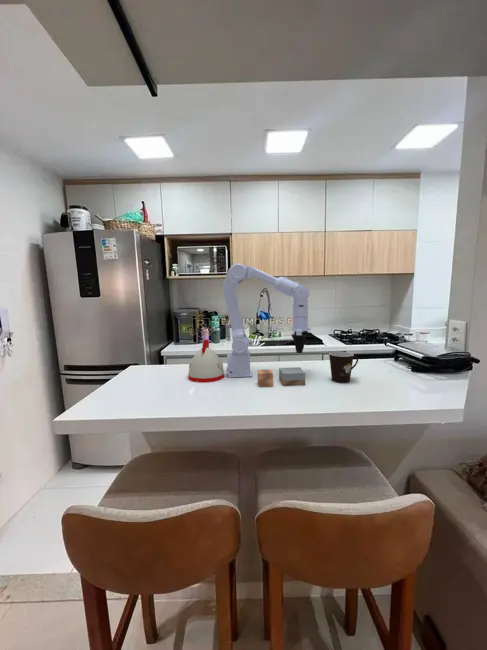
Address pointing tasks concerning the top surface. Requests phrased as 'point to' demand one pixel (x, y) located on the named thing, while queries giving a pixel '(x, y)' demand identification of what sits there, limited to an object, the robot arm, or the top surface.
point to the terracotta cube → (265, 378)
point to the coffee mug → (341, 366)
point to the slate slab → (292, 373)
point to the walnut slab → (291, 382)
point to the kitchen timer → (206, 366)
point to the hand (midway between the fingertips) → (300, 350)
